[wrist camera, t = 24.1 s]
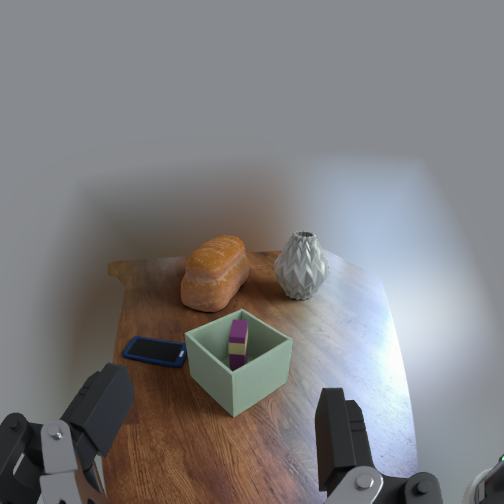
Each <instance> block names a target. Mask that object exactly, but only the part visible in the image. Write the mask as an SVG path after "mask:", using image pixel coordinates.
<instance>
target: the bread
mask: <svg viewBox="0 0 504 504" xmlns="http://www.w3.org/2000/svg"><path fill="white" fill-rule="evenodd" d="M185 271H186V273H185V275H184V277H183V280H182V283H181V299H182V302H183V303H184V305H186V306H188V307H190V308H192V309H195V310H200V311H204V312H217V311H220V310H221V309H223V308H225V306H226V305H227V304H228V303H229V301H230V299H231V298H232V297H233V296H234V295H235V294H236V293H237V292H238V290H239V287H240V286H241V285H243V284H244V283H245V282H246V280H247V279H248V276H249V272H250V264H249V261H248V259H247V257H246V255H245V246H244V244H243V242H242V241H241V240H240V239H239V238H237V237H235V236H228V235H219V236H217V237H215V238H214V239H212V240H209V241H207V242H205V243H204V244H202V245H201V246H199V247H198V248H197V249H196V251H194V252H193V253H192V254H190V255H189V257H188V258H187V261H186V264H185Z"/></svg>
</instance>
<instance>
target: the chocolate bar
mask: <svg viewBox="0 0 504 504" xmlns="http://www.w3.org/2000/svg"><path fill="white" fill-rule="evenodd" d="M228 344H229V364H230V370H231V371H232V372H233V371H235V370H237V369H238V368H240V367H242V366H244V365H246V364H247V347H248V320H235V319H233V321H232V325H231V329H230V333H229V343H228Z"/></svg>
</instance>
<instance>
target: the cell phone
mask: <svg viewBox="0 0 504 504" xmlns="http://www.w3.org/2000/svg"><path fill="white" fill-rule="evenodd" d="M123 356H124V357H125V358H129V359H134V360H139V361H144V362H149V363H154V364H160V365H166V366H172V367H182V365H183V363H184V361H185V358H186V356H187V348H186V343H179V342H171V341H165V340H158V339H152V338H146V337H140V336H135V337H134V338H133V339H132V340H131V342H130V343H129V345H128V346H127V348H126V349H125V350H124V352H123Z"/></svg>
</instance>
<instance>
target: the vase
mask: <svg viewBox="0 0 504 504" xmlns="http://www.w3.org/2000/svg"><path fill="white" fill-rule="evenodd" d="M273 268H274V271H275V273H276V276H277V278H278V281H279V284H280V286H281V288H283V289H284V292H285V293H286V296H289V297H290V298H295V299H296V300H300V299H302V300H305V299H307V298H309V299H310V298H311V296H313V295H314V293H315V292H317V291H318V289H319V288H320V287H321V286H322V284H323V282H324V281H325V279H326V278H327V276H328V275H329V273H330V271H329V267H328V264H327V261H326V259H325V258H324V256H323V251H322V247H321V246H320V244H319V242H318V240H317V239H316V235H315V234H313V233H312V232H308V231H306V232H305V231H297V232H294V233H293V235H292V236H291V238H290V239H289V241H288V242H287V243H286V244H285V246H284V248H283V250H282V253H281V254H280V255H279V256H278V258H277V259H276V261H275V263H274V265H273Z"/></svg>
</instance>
